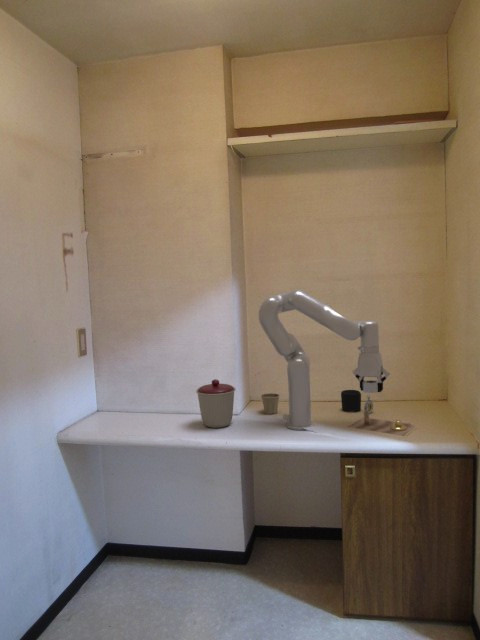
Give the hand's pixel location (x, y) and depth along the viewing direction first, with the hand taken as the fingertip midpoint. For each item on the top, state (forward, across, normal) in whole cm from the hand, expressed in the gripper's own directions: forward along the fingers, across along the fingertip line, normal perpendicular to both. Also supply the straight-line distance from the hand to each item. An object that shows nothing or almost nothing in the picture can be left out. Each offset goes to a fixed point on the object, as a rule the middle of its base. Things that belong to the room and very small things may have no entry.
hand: (371, 390), depth 210 cm
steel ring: (0, 0, 0) cm, 0 cm away
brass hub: (+15, +11, 0) cm, 19 cm away
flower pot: (+16, -52, -2) cm, 54 cm away
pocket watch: (+16, -5, +15) cm, 23 cm away
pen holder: (+16, -17, +17) cm, 29 cm away
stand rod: (+15, -3, 0) cm, 15 cm away
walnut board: (+16, +4, 0) cm, 17 cm away
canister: (+15, -62, -30) cm, 71 cm away
